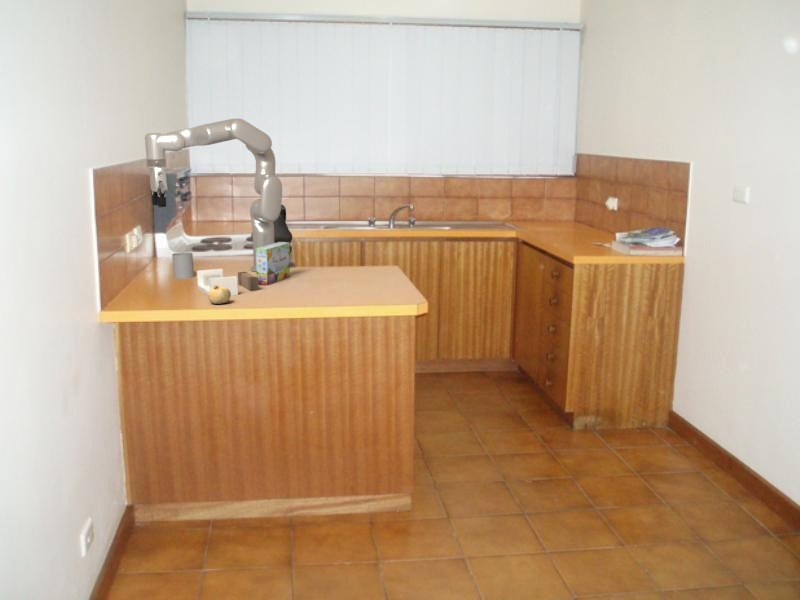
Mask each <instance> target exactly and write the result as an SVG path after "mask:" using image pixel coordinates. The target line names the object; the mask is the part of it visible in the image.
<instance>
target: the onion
mask: <svg viewBox="0 0 800 600" xmlns="http://www.w3.org/2000/svg"><path fill="white" fill-rule="evenodd" d="M231 296H232V295H231V293H230V291H229V289H228V288H226V287H225V286H219V285H214V286H213V288H211V290H210V291H209V294H208V295H207V298H208V300H209V302H210V303H211V304H215V305H216V304H219V305H220V304H227V303H229V302H230V299H231Z"/></svg>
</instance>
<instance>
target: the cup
mask: <svg viewBox="0 0 800 600" xmlns="http://www.w3.org/2000/svg"><path fill="white" fill-rule="evenodd" d="M171 255H172V256H171V257H172V271H173V279H176V280H186V279H192V278H194V277H195V275H194V274H195V273H194V271H195V270H194V255H193V252H176V253H172V254H171Z"/></svg>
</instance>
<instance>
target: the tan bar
mask: <svg viewBox="0 0 800 600" xmlns="http://www.w3.org/2000/svg"><path fill="white" fill-rule="evenodd" d="M238 285H239V286H241V287H243V288H244V289H246V290H248V291H249V292H254V291H257V290H258V291H259V284H258V278H257V276H255V275H252V274H250V273H249V272H247V271H238V272H237V286H238Z"/></svg>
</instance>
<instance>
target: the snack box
mask: <svg viewBox="0 0 800 600" xmlns="http://www.w3.org/2000/svg"><path fill="white" fill-rule="evenodd" d="M290 244H291V243H289V242H277V243H273V244H270V245H266V246H263V247H259V248H256V264H257V272H256V277H257V278H258V286H268V285H271V284H275V283H277V282H279V280H280V281H282V280H284V278H285V279H287V278H286V277H288V276H290V277H291V267H290V266H291V263H290V262H291V260H290V259H291V258H290V257H291V255H290V254H291V253H290ZM288 278H289V277H288Z"/></svg>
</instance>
